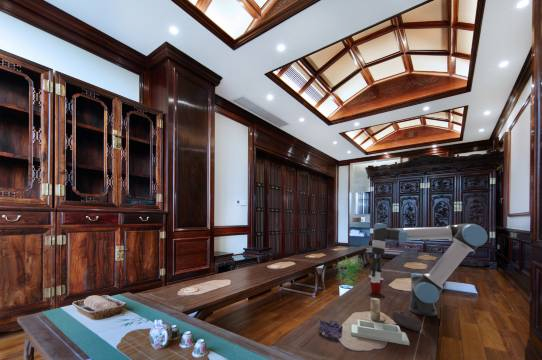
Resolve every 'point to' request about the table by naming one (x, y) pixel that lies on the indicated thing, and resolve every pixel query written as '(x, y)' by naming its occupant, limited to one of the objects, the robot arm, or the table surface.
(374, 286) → the plastic cup
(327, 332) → the mineral specimen
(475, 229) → the robot arm
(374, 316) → the birch peg
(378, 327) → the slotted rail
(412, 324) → the perforated stone tool
